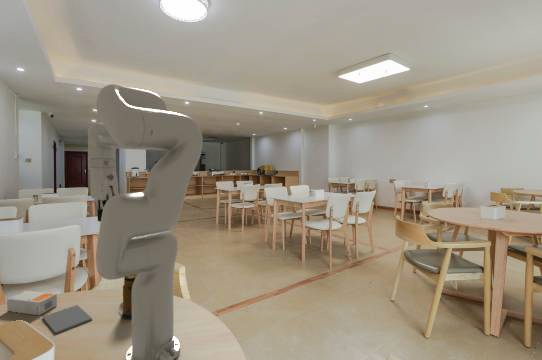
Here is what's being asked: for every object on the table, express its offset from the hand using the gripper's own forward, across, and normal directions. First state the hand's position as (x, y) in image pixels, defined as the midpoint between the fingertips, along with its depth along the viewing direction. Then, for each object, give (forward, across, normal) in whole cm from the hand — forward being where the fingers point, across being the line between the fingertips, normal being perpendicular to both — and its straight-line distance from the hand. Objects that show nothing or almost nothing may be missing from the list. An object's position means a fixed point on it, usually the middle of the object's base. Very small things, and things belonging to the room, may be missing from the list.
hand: (104, 220), depth 92 cm
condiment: (+29, -12, -3) cm, 31 cm away
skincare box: (+26, +10, +13) cm, 30 cm away
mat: (+28, 0, +11) cm, 30 cm away
